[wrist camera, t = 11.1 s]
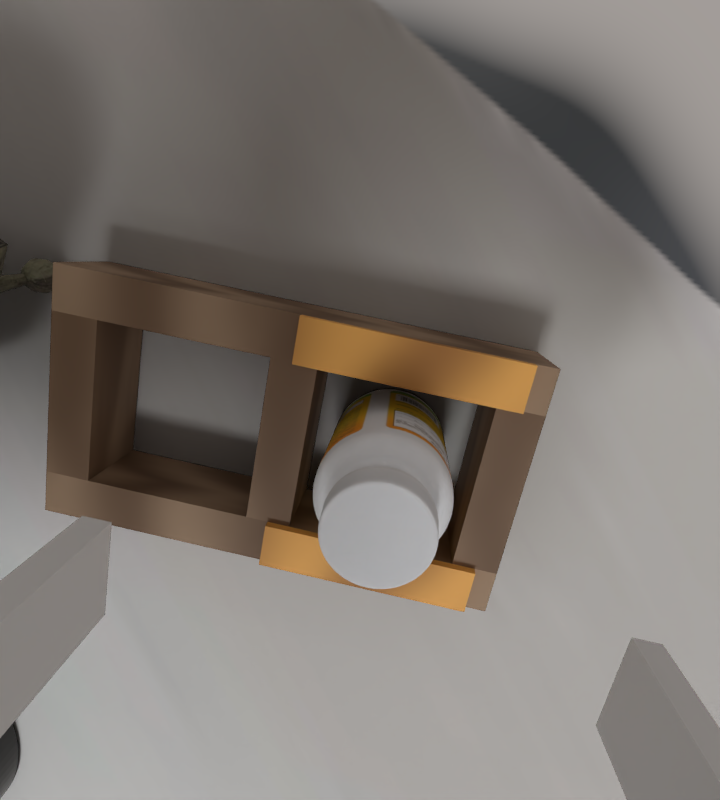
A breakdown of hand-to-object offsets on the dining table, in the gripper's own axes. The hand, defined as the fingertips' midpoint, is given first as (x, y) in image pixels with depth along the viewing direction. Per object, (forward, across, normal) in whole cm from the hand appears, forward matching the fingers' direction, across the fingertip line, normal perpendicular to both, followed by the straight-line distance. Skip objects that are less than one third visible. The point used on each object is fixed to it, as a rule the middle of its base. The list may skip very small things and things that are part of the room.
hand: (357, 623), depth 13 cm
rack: (+14, -4, 0) cm, 14 cm away
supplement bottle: (+14, 0, 0) cm, 14 cm away
